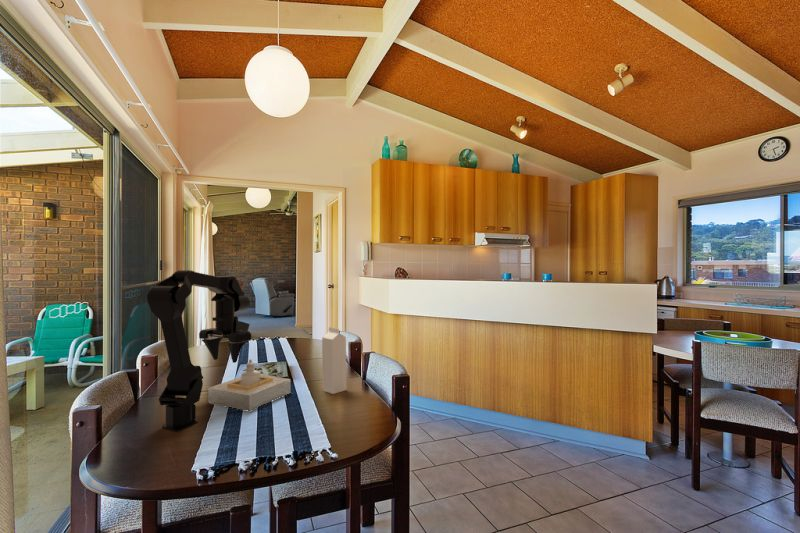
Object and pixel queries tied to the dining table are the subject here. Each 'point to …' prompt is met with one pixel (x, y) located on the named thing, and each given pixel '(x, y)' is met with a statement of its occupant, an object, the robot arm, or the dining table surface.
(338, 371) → the milk
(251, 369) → the eye dropper bottle
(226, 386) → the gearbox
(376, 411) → the dining table surface
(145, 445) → the dining table surface
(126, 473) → the dining table surface
